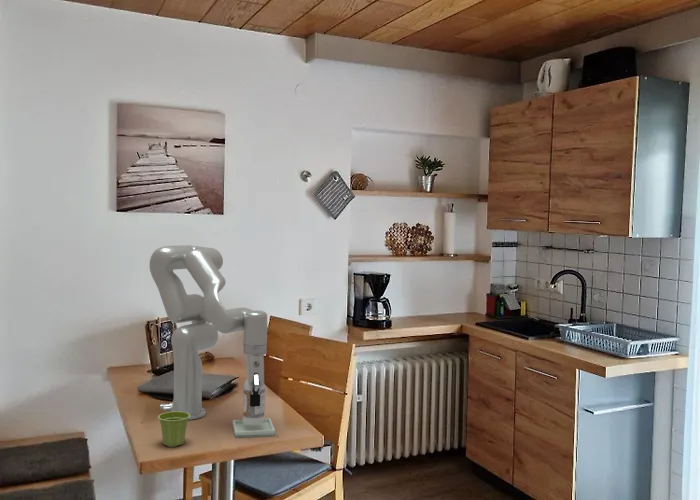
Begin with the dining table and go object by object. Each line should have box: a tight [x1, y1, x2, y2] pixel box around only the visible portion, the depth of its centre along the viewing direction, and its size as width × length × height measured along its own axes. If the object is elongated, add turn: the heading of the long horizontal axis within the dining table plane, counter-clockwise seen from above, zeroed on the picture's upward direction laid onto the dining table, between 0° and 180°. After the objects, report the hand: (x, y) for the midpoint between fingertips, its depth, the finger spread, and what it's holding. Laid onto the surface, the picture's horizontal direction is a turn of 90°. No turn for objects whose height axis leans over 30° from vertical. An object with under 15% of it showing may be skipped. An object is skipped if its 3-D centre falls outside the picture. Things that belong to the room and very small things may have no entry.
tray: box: [232, 417, 276, 439], centre depth 211 cm, size 13×13×2 cm
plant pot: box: [157, 411, 190, 448], centre depth 197 cm, size 9×9×9 cm
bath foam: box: [242, 363, 266, 426], centre depth 211 cm, size 7×7×20 cm
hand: (253, 402), depth 211 cm, fingers closed on bath foam, 7 cm apart
